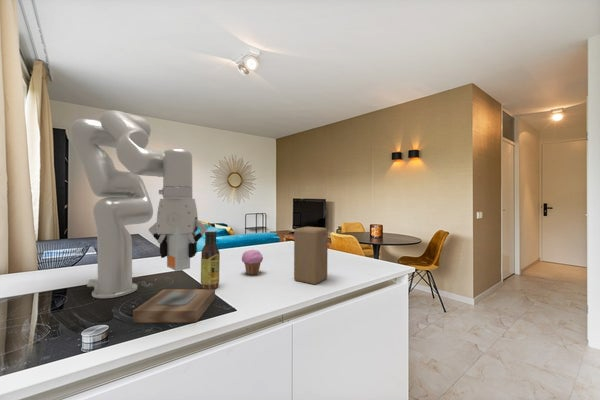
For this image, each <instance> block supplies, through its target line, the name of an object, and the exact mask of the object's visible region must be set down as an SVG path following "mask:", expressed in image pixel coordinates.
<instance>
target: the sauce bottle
mask: <svg viewBox="0 0 600 400" xmlns="http://www.w3.org/2000/svg"><path fill="white" fill-rule="evenodd" d="M217 235H218V231H216V230H207V231H206V232H205V233H204V236H205V237H204V239H205V240H204V241H205V242H204V246H203V247H202V250H201V258H200V284H201V285H200V287H201V289H217V288H218V287H219V285H220V284H219V283H220V265H221V263H220V260H221V259H220V255H221V254H220V251H219V248H218V244H217Z"/></svg>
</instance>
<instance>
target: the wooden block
mask: <svg viewBox="0 0 600 400" xmlns="http://www.w3.org/2000/svg"><path fill="white" fill-rule="evenodd" d="M293 233H294V235H293V239H294V240H293V244H294V245H293V255H294V256H293V259H294V261H293V280H294V281H296V282H302V283H307V284H311V285H318V284H319V283H321V282H323V281H324V280H326V279H327V278H328V252H329V251H328V245H329V243H328V241H329V239H328V233H329V232H328V228H326V227H318V226H316V227H315V226H303V227H299V228H298V227H297V228H295V229H294V232H293Z"/></svg>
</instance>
